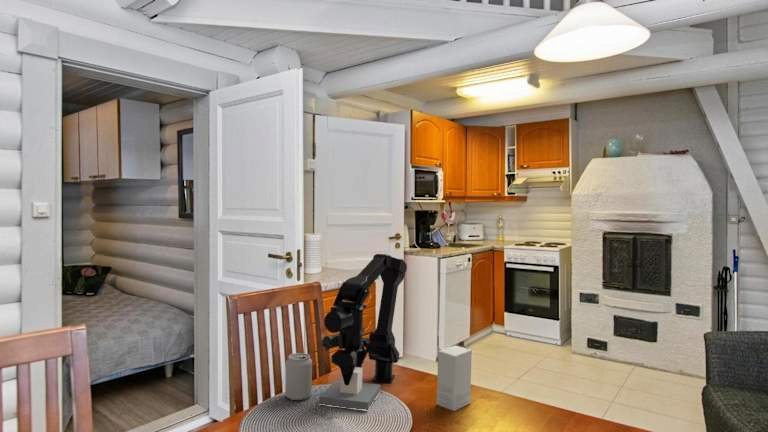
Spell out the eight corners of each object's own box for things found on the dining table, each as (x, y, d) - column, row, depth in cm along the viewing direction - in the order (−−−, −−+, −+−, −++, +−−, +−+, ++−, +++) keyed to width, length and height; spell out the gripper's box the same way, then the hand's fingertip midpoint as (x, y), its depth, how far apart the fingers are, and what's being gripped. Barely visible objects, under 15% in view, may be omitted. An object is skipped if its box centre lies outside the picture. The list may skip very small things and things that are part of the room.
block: (345, 386, 136) (346, 365, 136) (362, 388, 135) (362, 367, 135) (340, 392, 132) (340, 371, 132) (357, 394, 130) (357, 373, 130)
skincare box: (453, 397, 137) (454, 344, 137) (472, 404, 132) (473, 349, 132) (435, 405, 131) (436, 349, 131) (454, 412, 126) (455, 355, 126)
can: (305, 403, 130) (306, 360, 130) (280, 400, 131) (281, 358, 131) (314, 393, 137) (316, 352, 137) (291, 391, 138) (292, 350, 138)
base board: (336, 387, 142) (336, 379, 142) (380, 393, 138) (380, 384, 138) (318, 405, 128) (319, 396, 128) (367, 411, 125) (367, 402, 125)
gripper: (337, 317, 144) (335, 367, 144) (314, 330, 126) (312, 388, 126) (371, 319, 142) (370, 370, 142) (353, 334, 124) (351, 392, 124)
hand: (351, 379), depth 133 cm, fingers open, 8 cm apart
